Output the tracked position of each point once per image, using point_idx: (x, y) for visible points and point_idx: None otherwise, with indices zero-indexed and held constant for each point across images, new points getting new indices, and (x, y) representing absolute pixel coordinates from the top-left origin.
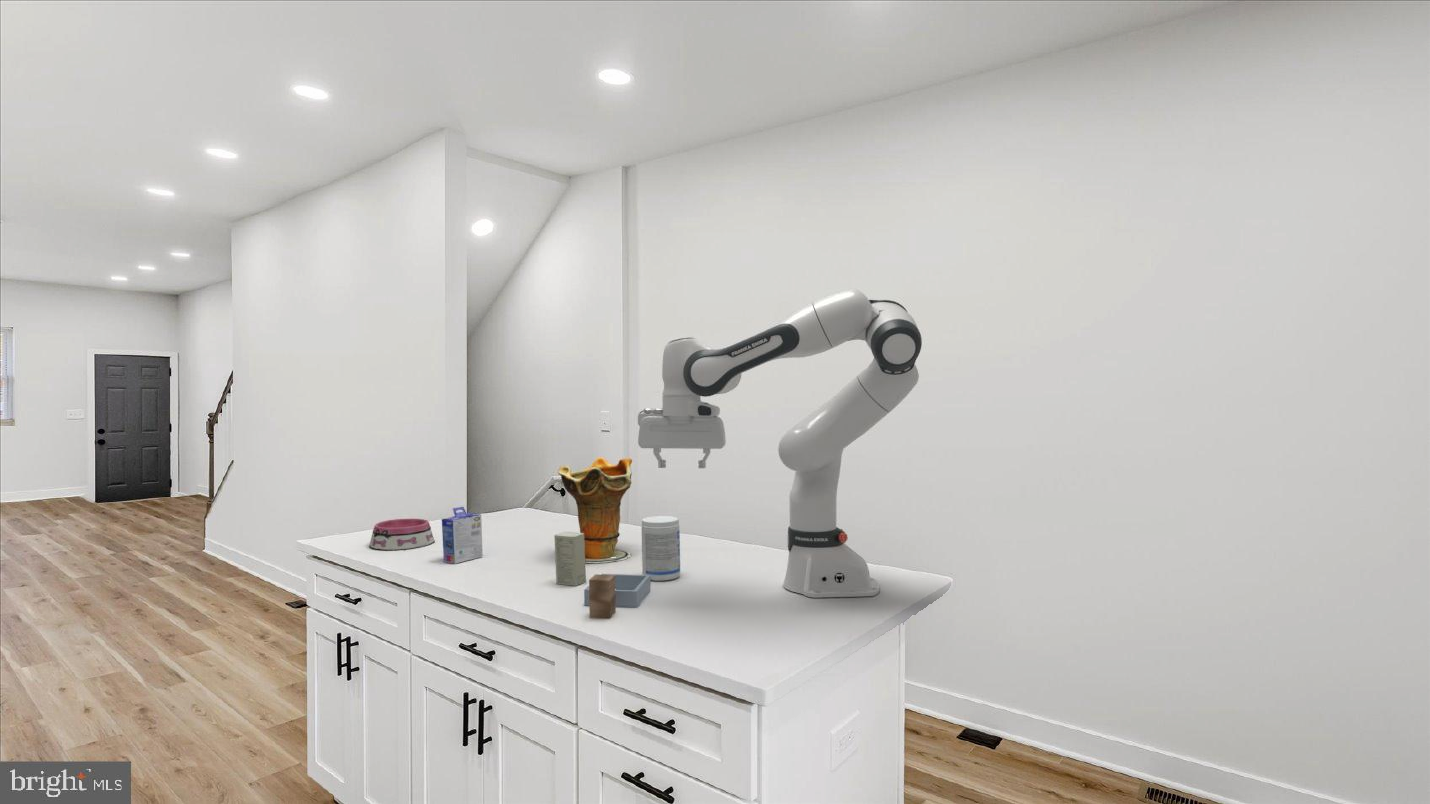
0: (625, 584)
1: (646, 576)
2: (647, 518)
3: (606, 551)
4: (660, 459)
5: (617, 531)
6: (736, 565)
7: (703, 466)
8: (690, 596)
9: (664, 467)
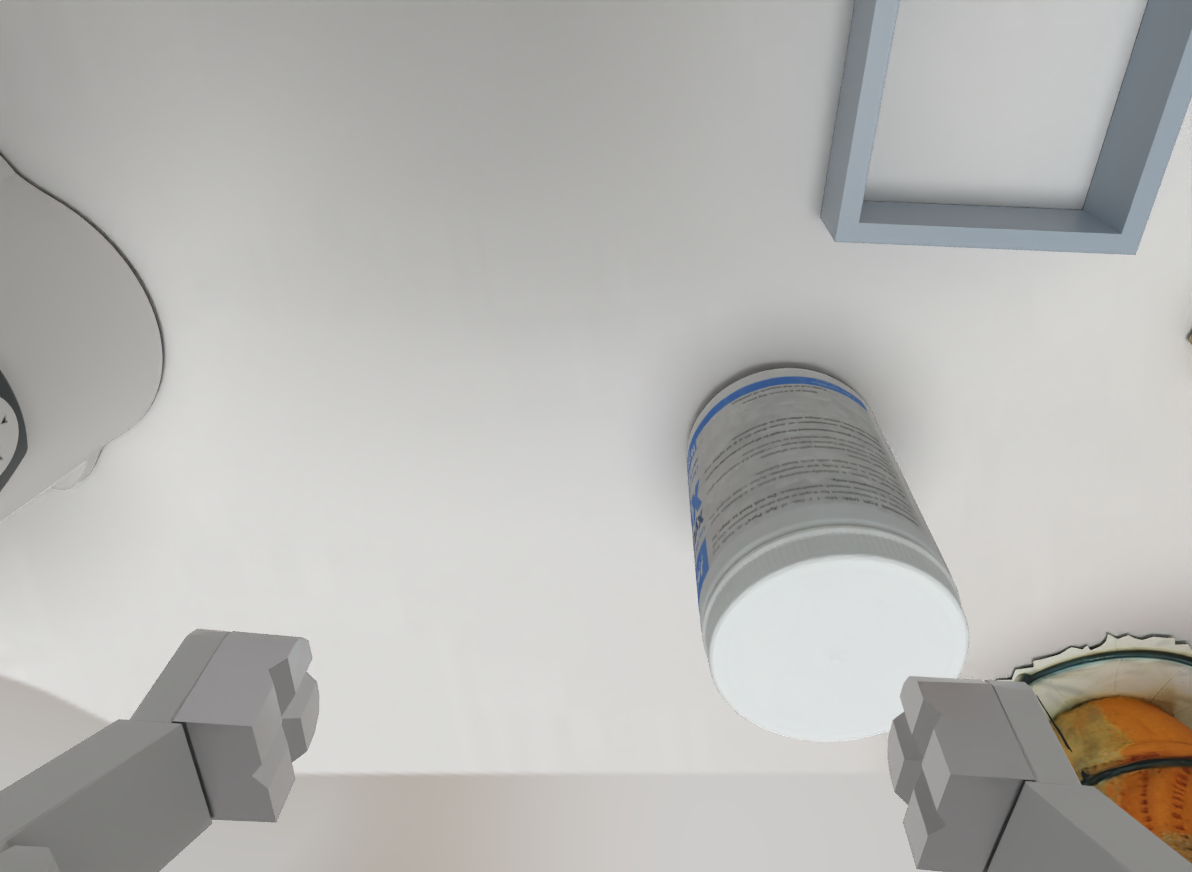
0: (970, 213)
1: (857, 210)
2: (930, 674)
3: (1080, 729)
4: (1039, 803)
5: None
6: (451, 623)
7: (203, 643)
8: (587, 107)
9: (910, 677)
